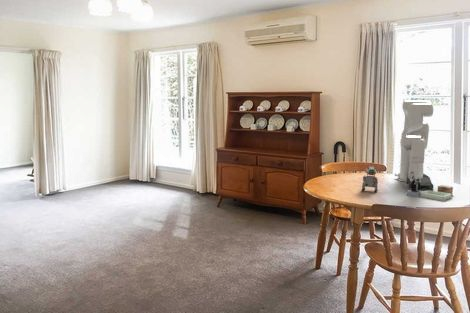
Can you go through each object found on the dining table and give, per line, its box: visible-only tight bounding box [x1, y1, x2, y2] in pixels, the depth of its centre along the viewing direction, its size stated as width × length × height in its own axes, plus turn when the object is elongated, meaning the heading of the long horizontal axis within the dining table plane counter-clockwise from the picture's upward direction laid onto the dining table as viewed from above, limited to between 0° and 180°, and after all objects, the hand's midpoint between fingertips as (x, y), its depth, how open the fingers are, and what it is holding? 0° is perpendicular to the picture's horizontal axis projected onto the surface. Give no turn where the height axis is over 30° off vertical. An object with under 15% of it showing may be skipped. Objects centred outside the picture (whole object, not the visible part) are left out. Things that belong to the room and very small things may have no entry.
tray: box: [418, 190, 453, 202], centre depth 247 cm, size 14×11×2 cm
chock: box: [437, 184, 454, 195], centre depth 255 cm, size 7×4×5 cm, turn 39°
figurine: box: [361, 165, 379, 193], centre depth 263 cm, size 9×12×15 cm
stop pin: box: [413, 180, 419, 192], centre depth 252 cm, size 4×4×9 cm
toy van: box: [405, 172, 435, 191], centre depth 268 cm, size 11×25×10 cm, turn 172°
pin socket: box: [406, 189, 423, 198], centre depth 252 cm, size 7×7×2 cm
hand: (415, 189), depth 252 cm, fingers open, 3 cm apart
